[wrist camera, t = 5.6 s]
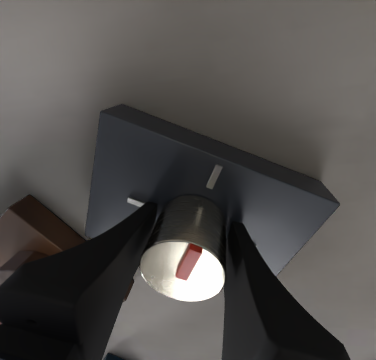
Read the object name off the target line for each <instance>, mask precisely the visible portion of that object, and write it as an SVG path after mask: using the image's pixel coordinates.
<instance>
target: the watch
mask: <svg viewBox="0 0 376 360" xmlns="http://www.w3.org/2000/svg"><path fill="white" fill-rule="evenodd" d="M104 360H124V359H122V358H119V357H117V356H114V355H112V354H109V353H108V354H107V355H106V357H105V358H104Z"/></svg>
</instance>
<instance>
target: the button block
mask: <svg viewBox="0 0 376 360" xmlns="http://www.w3.org/2000/svg"><path fill="white" fill-rule="evenodd" d="M84 242H86V241H85V240H84V239H83V238H82V237H80V236H79V235H78V234H77V233H76V232H74V231H73V230H72V229H71V228H70V227H68V226H67V225H66V224H65V223H64V222H62V221H61V220H60V219H59V218H57V217H56V216H55V215H54V214H53V213H51V212H50V211H49V210H48V209H47V208H45V207H44V206H43V205H42V204H41V203H39V202H38V201H37V200H36V199H35V198H33V197H32V196H31V195H28V196H26V197H24V198H23V199H21V200H20V201H18V202H17V203H15V204H13V205H12V206H10V207H9V208H8V209H7V210H6V211H5V212H4V213H3V215H2V216H1V217H0V285H1V284H2V283H3V282H4V281H5V280H6V279H8V278H9V277H10V276H11V275H12V274H13V273H14V272H15V271H16V270H17V269H18V268H19V267H20V266H22V265H23V264H24V263H27V262H31V261H34V260H38V259H41V258H44V257H47V256H51V255H54V254H56V253H59V252H62V251H65V250H67V249H70V248H72V247H75V246H77V245H79V244H82V243H84ZM133 283H134V280H133V279H132V280H131V282H130V285H129V287H128V290H127V292H126V295H125V297H124V300H123V302H124V301H126V300H127V297H128V295H129V293H130V290H131V288H132V286H133Z"/></svg>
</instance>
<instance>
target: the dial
mask: <svg viewBox="0 0 376 360" xmlns="http://www.w3.org/2000/svg"><path fill="white" fill-rule="evenodd" d="M139 266H140V271H141V274H142V276H143V278H144V279H145V281H146V282H147V283H148V284H149V285H150V286H151V287H152V288H153V289H154V290H156V291H157V292H159V293H161V294H163V295H165V296H167V297H170V298H173V299H176V300H181V301H201V300H206V299H209V298H211V297H213V296H215V295H216V294H218V293H219V292H220V291H221V290H222V288H223V287H224V285H225V282H226V278H227V270H226V220H225V217H224V214H223V213H222V211H221V210H220V209H219V207H218V206H217V205H216V204H214V203H213V202H211V201H210V200H208V199H206V198H203V197H200V196H195V195H184V196H179V197H176V198H174V199H172V200H170V201H169V202H168V203H166V204H165V206H164V207H163V208H162V210H161V213H160V215H159V217H158V219H157V222H156V224H155V226H154V228H153V231H152V233H151V235H150V237H149V239H148V242H147V244H146V246H145V248H144V251H143V253H142V255H141V257H140V263H139Z"/></svg>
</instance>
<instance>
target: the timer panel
mask: <svg viewBox="0 0 376 360" xmlns="http://www.w3.org/2000/svg"><path fill="white" fill-rule="evenodd" d="M184 195H195V196H200V197H203V198H206V199H208V200H210V201H211V202H213V203H214V204H216V205H217V206H218V207H219V209H220V210H221V211H222V213H223V214H224V217H225V220H226V239H227V236H228V233H229V230H230V227H231V224H232V221H236V222H240V223H243V224H244V225H245V227H246V229H247V231H248V233H249V235H250V237H251V239H252V241H253V242H254V244H255V246H256V248H257V249H258V251H259V253H260V254H261V256H262V257H263V259H264V261H265V262H266V264H267V265H268V267H269V268H270V269H271V271H272V272H273V273H274V275H275V276H277V275H278V274H279V273H280V271H281V270H282V269H283V268H284V267H285V266H286V265H287V264H288V263H289V261H290V260H291V259H292V258H293V257H294V256H295V255H296V254H297V252H298V251H299V250H300V249H301V248H302V247H303V246H304V245H305V244H306V242H307V241H308V240H309V239H310V238H311V237H312V236H313V235H314V233H315V232H316V231H317V230H318V229H319V228H320V227H321V226H322V225H323V223H324V222H325V221H326V220H327V219H328V218H329V217H330V216H331V214H332V213H333V212H334V211H335V210H336V209H337V208H338V207H339V206H340V203H339V202H338V201H337V200H336V198H335V197H334V196H333V195H332V194H331V193H330V191H329V190H328V189H327V188H326V187H325V186H324V184H323V183H322V182H321V181H318V180H316V179H313V178H310V177H308V176H305V175H303V174H300V173H298V172H295V171H293V170H290V169H287V168H285V167H282V166H280V165H277V164H275V163H272V162H269V161H267V160H264V159H262V158H259V157H257V156H254V155H252V154H249V153H246V152H244V151H241V150H239V149H236V148H234V147H231V146H228V145H226V144H223V143H221V142H218V141H216V140H213V139H211V138H208V137H205V136H203V135H200V134H198V133H195V132H193V131H190V130H188V129H185V128H182V127H180V126H177V125H175V124H172V123H170V122H167V121H164V120H162V119H159V118H157V117H154V116H152V115H149V114H147V113H144V112H141V111H139V110H136V109H134V108H131V107H129V106H126V105H124V104H120V105H117V106H114V107H111V108H108V109H105V110H102V111H101V112H100V119H99V127H98V135H97V142H96V150H95V158H94V166H93V174H92V182H91V190H90V198H89V206H88V213H87V221H86V229H85V236H88V237H91V238H94V237H96V236H98V235H100V234H102V233H104V232H105V231H107V230H109V229H110V228H112V227H113V226H115V225H117V224H118V223H120V222H121V221H123V220H124V219H125V218H127V217H128V216H129V215H131V214H132V213H133V212H135V211H136V210H137V209H139V208H140V207H141V206H142V205H143V204H145V203H146V202H153V203H157V204H158V205H157V214H156V222H157V219H158V217H159V215H160V213H161V210H162V208H163V207H164V206H165V204H166V203H168V202H169V201H170V200H172V199H174V198H176V197H179V196H184ZM155 224H156V223H155Z"/></svg>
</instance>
